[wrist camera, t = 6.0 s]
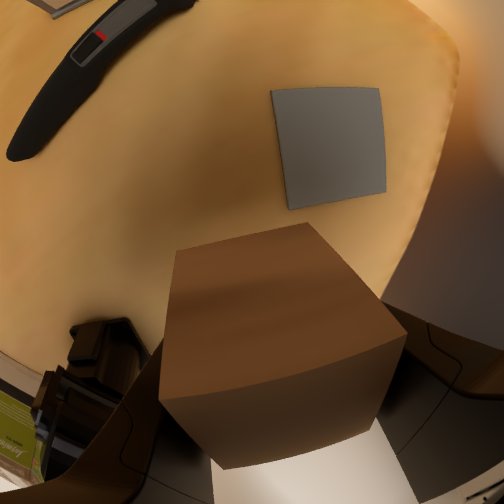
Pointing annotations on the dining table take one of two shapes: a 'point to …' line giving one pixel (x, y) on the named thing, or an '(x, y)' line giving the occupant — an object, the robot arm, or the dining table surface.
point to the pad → (330, 143)
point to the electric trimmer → (84, 70)
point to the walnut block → (274, 347)
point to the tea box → (18, 424)
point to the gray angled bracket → (58, 6)
